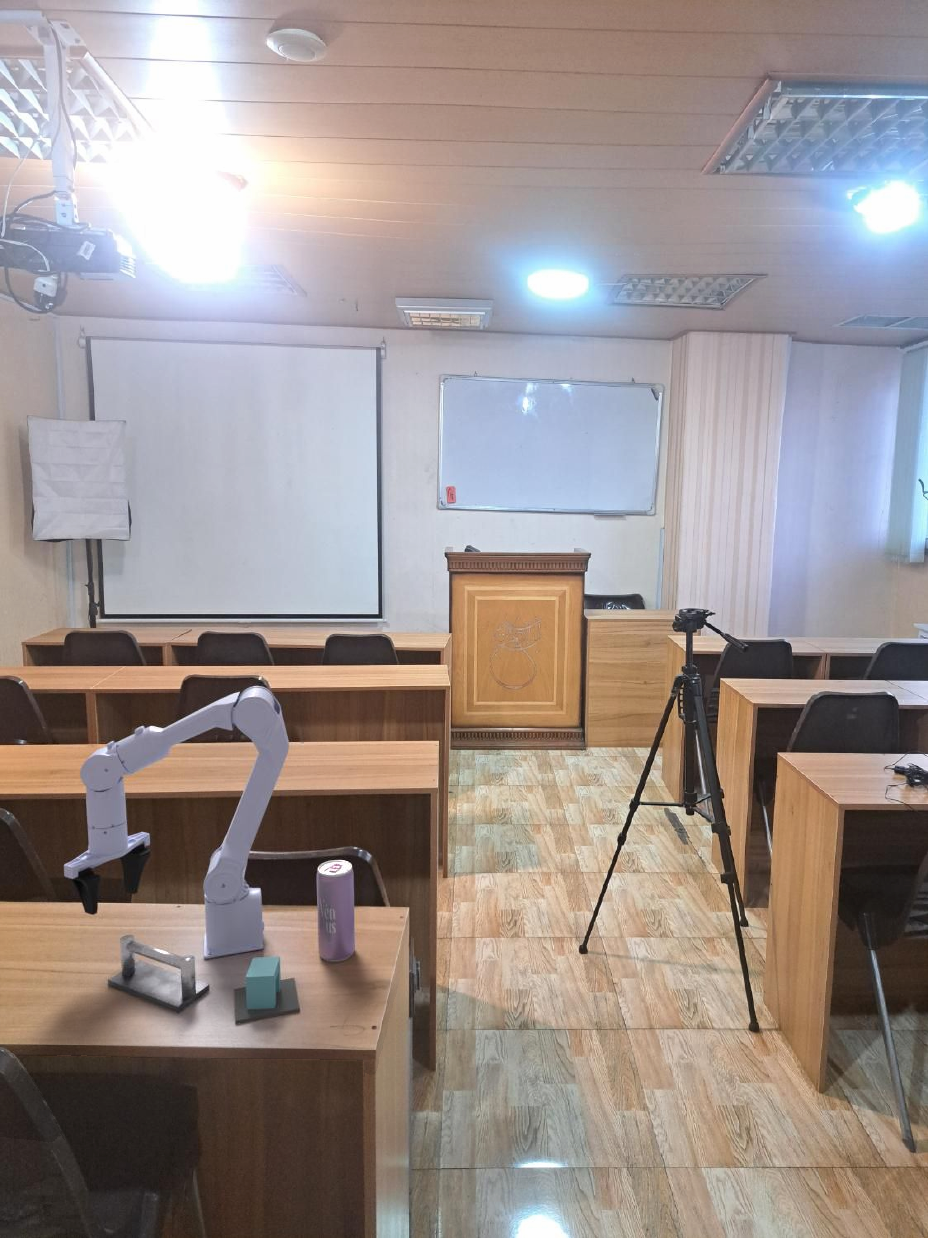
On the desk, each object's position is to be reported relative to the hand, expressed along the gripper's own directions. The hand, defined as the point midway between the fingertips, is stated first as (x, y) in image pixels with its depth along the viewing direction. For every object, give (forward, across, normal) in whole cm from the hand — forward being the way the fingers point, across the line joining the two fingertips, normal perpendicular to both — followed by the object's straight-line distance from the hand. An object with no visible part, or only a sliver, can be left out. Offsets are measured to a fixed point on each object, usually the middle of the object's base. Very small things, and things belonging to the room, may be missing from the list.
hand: (111, 902), depth 121 cm
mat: (+9, -2, +31) cm, 32 cm away
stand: (+9, +3, +14) cm, 17 cm away
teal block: (+9, -2, +30) cm, 32 cm away
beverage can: (+10, -17, +32) cm, 38 cm away
